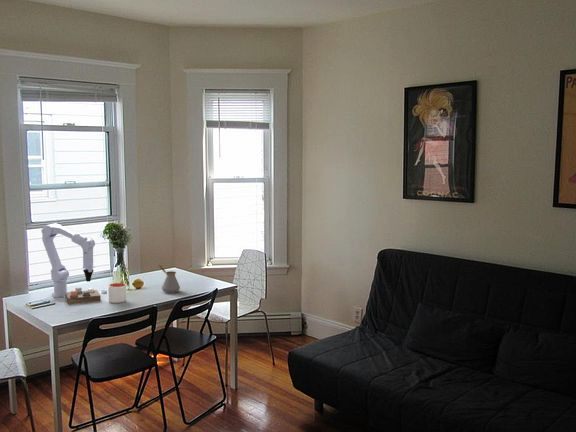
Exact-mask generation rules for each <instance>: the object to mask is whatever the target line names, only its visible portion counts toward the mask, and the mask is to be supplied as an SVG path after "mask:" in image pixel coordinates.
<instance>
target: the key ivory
mask: <svg viewBox="0 0 576 432" xmlns="http://www.w3.org/2000/svg"><path fill="white" fill-rule="evenodd" d="M94 290H95V289H94V287H89V288H87V291H89V293H94Z"/></svg>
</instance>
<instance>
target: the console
mask: <svg viewBox="0 0 576 432" xmlns="http://www.w3.org/2000/svg"><path fill="white" fill-rule="evenodd" d="M85 291H86V290H82V294H77V297H73V298H71V291H67V292H66V293H65V296H64V297H65V300H66V303H67V304H68V305H77V304H89V303H94V302H95V303H97V302H98V303H99V302H102V301H101V298H102V297H101V293H100V292H99V290H97V289H94V293H89V294H90V296H84V297H83V292H85Z"/></svg>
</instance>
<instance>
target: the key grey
mask: <svg viewBox="0 0 576 432" xmlns="http://www.w3.org/2000/svg"><path fill="white" fill-rule="evenodd" d="M74 291H77V294H82V291H83V289H82V287H81V286H78V287H75V289H74Z"/></svg>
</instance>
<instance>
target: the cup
mask: <svg viewBox="0 0 576 432" xmlns="http://www.w3.org/2000/svg"><path fill="white" fill-rule="evenodd" d="M126 300H127V284H126V283H123V282H114V283H109V284H108V302H110V303H111V304H112V303H113V304H119V303H120V304H121V303H124V302H126Z"/></svg>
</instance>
